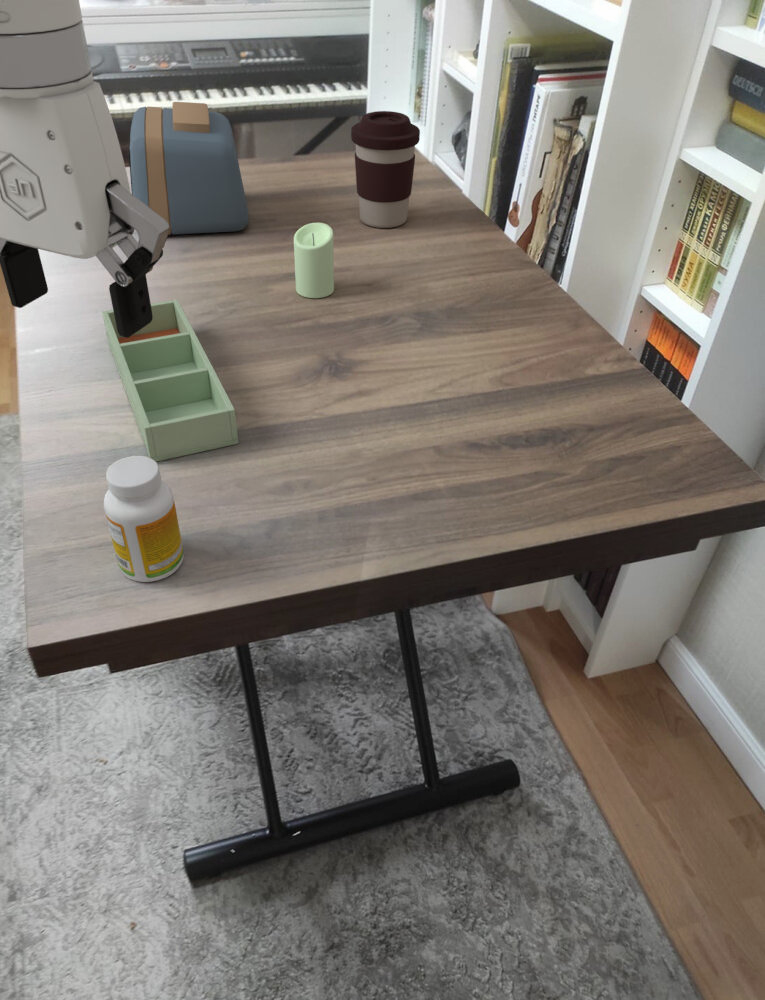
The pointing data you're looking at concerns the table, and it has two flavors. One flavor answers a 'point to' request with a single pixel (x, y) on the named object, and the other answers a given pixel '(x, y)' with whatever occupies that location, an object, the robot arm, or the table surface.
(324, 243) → the candle
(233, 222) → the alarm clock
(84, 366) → the table surface
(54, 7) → the robot arm
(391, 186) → the coffee cup
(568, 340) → the table surface
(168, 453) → the tray
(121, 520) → the supplement bottle
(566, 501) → the table surface
